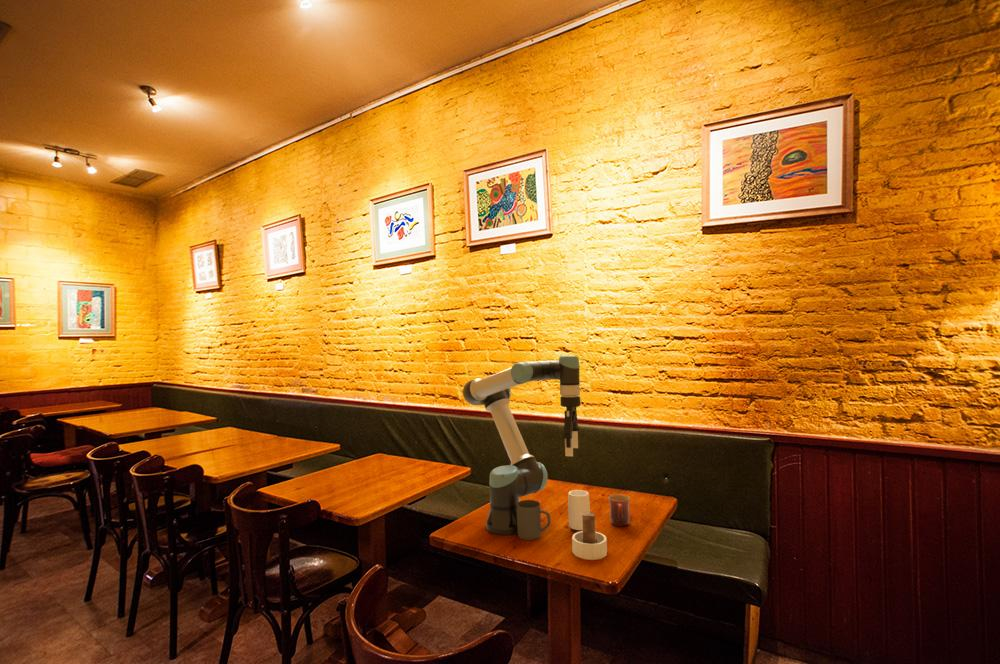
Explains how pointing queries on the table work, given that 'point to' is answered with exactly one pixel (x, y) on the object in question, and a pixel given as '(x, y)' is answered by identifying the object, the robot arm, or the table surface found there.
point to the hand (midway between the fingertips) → (571, 452)
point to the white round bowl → (589, 546)
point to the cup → (577, 508)
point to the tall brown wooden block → (588, 528)
